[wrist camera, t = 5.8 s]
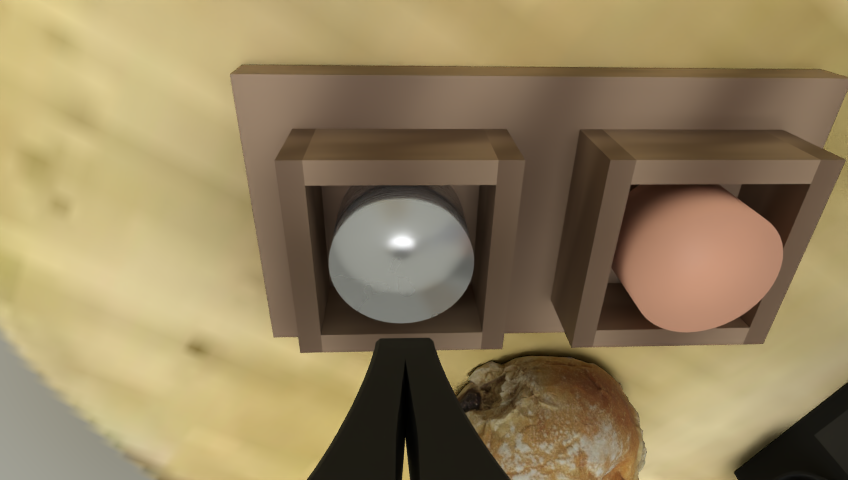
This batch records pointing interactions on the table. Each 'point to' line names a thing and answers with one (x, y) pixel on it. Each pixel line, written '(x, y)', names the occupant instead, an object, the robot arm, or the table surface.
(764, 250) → the tan rounded piece
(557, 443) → the bread roll
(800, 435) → the digital camera
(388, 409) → the robot arm
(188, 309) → the table surface
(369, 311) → the grey plunger
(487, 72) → the brown wooden tray
